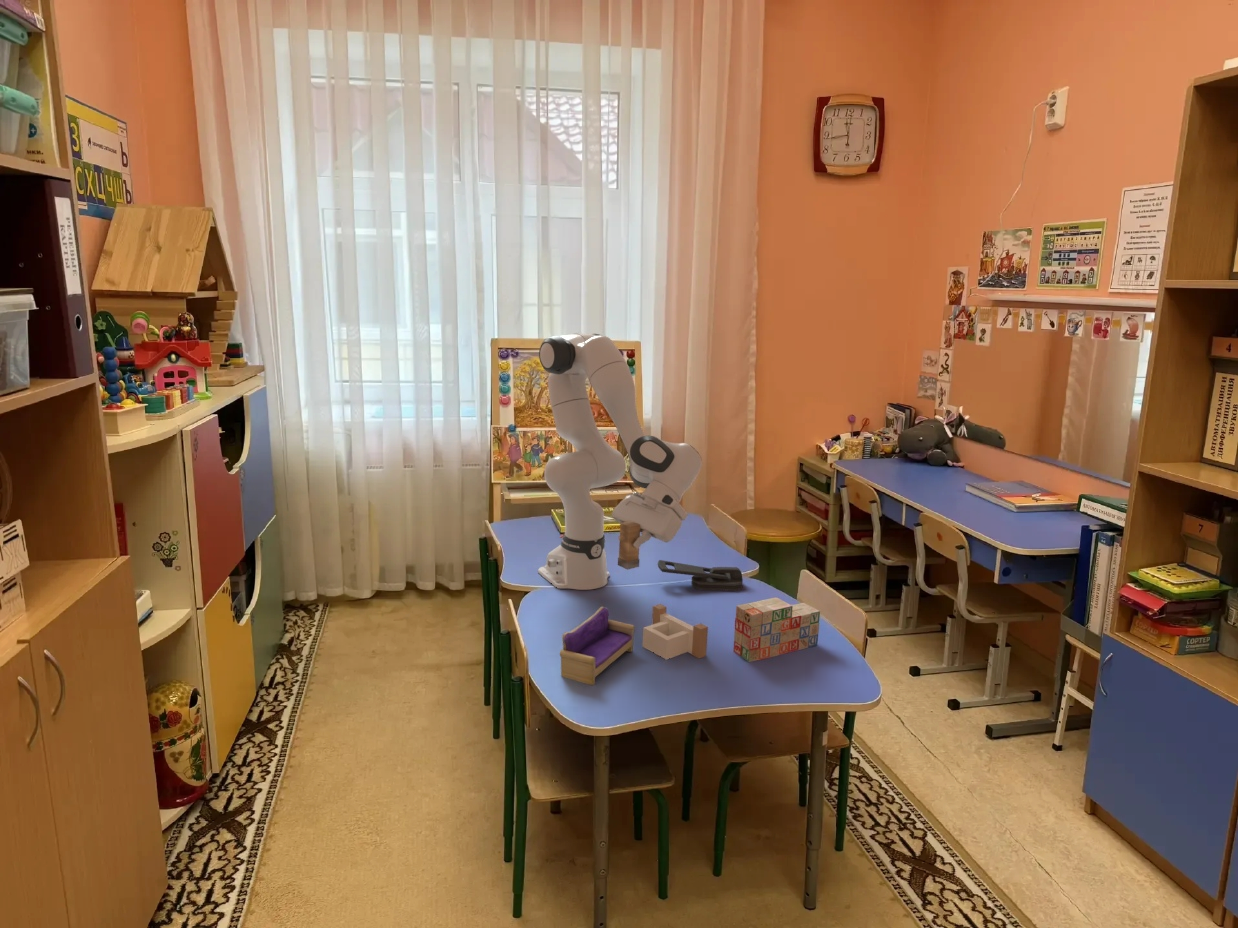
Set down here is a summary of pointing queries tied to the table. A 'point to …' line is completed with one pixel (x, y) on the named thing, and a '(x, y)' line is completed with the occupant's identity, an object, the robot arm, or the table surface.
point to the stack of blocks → (774, 628)
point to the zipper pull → (707, 576)
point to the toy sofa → (594, 646)
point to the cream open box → (674, 636)
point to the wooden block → (628, 545)
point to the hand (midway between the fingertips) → (627, 543)
